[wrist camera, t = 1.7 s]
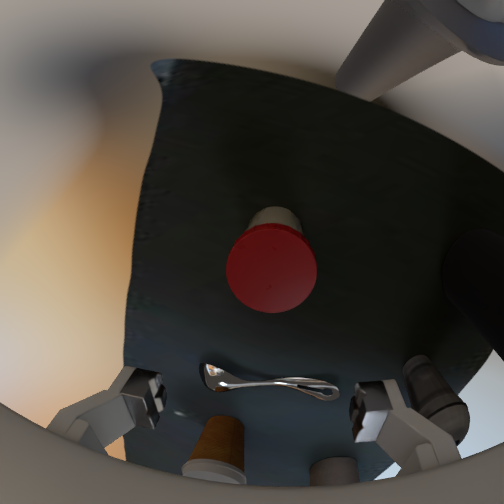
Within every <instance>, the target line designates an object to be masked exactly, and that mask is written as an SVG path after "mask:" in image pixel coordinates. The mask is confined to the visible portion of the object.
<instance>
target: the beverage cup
mask: <svg viewBox="0 0 504 504" xmlns="http://www.w3.org/2000/svg"><path fill="white" fill-rule="evenodd" d="M402 373H403V376H404V381H405V385H406V388H407V392H408V395H409V399H410V402H411V406H412V409H413V410H414V411H416V412H417V413H419V414H420V415H422V416H423V417H425V418H426V419H428V420H429V421H431V422H432V423H434V424H435V425H436V426H438V427H439V428H441V429H442V430H444V431H445V432H447V433H448V434H450V435H452V437H453V439H454V442H455V444H456V446H458V445H459V444H460V443H461V442H462V441H463V439H464V438H465V436H466V434H467V432H468V429H469V423H470V415H469V412H468V407H467V405H466V403H464V402H463V401H462V399H461V398H459V396H458V395H456V394H455V393H454V391H453V390H452V389H451V387H450V386H449V384H448V383H447V382H446V380H445V379H444V378H443V376H442V375H441V374H440V372H439V371H438V370H437V368H436V367H435V366H434V364H433V363H432V362H431V361H430V360H429V359H428V357H427V356H425V355H417V356H415V357H413V358H411V359H410V360H408V361H407V362H406V364H405V365H404V367H403V370H402Z"/></svg>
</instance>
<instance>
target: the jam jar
mask: <svg viewBox="0 0 504 504" xmlns="http://www.w3.org/2000/svg"><path fill="white" fill-rule="evenodd" d="M266 222H267V223H278V222H279V224H284V225H287V226H289V225H290V226H291V228H293V229H295V230H297V231H298V232H299V231H300V232H301V234H302V235H303V236H304V237H305V234H304V231H303V227H302V224H301V222H300V220H299V219H298V217H297V216H296V215H295V214H294V213H293V212H291V211H290V210H288V209H285V208H282V207H268V208H265V209H263V210H261V211H259V212H258V213H257V214H256V215H255V216H254V217H253V218H252V220H251V221H250V223H249V225H248V227H247V229H246V231H247V230H249V229H251V228H253V227H254V226H255V225H256V226H257V225H260V224H265V223H266Z"/></svg>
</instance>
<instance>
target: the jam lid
mask: <svg viewBox="0 0 504 504" xmlns="http://www.w3.org/2000/svg"><path fill="white" fill-rule="evenodd" d="M229 254H230V255H229V257H228V261H227V266H226V273H227V279H228V283H229V285H230V288H231V290H232V291H233V293H234V294H235V296H236V297H237V298H238V299H239V300H240V301H241V302H243V303H244V304H245V305H247V306H248V307H250V308H252V309H255V310H258V311H261V312H267V313H278V312H283V311H287V310H290V309H292V308H294V307H296V306H298V305H299V304H300V303H302V302H303V301H304V300H305V299H306V298H307V297H308V295H309V294H310V293H311V291H312V289H313V287H314V285H315V281H316V277H317V263H316V260H315V258H314V256H315V254H314V250H313V249H312V248H311V246H310V244H309V241H308V239H307V240H306V238H305V237H304V236H303V235H302V234H301V232H300V231H299V232H298V231H297V230H295V229H293V228H291V226H290V225H289V226H287V225H284V224H279V222H278V223H267V222H266V223H265V224H260V225H257V226H256V225H255V226H254V227H253V228H251V229H249V230H247V231H245V232H244V234H242V235H241V237H240V238H239V239H238V238H237V240H236V242H235V245H234V247H233V248H232V249H231V251H230V252H229Z"/></svg>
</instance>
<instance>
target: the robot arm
mask: <svg viewBox="0 0 504 504" xmlns="http://www.w3.org/2000/svg"><path fill="white" fill-rule="evenodd" d="M457 1H458V2H459V3H460V4H461V5H462V6H464V7H465V8H466V9H467V10H469V11H470V12H472V13H473V14H475V15H476V16H478V17H480V18H482V19H484V20H486V21H489V22H494V23H497V22H501V23H504V0H457ZM162 382H163V377H162V374H161V373H159V372H155V371H149V370H144V369H140V368H134V367H129V366H126V367H124V368H123V369H122V370H121V372H120V373H119V375H118V376H117V378H116V379H115V381H114V382H113V383H112V385H111V386H110V388H109V389H108V390H103V391H101V392H99V393H97V394H95V395H92V396H90V397H88V398H86V399H84V400H81V401H79V402H77V403H75V404H72V405H70V406H68V407H66V408H63V409H61V410H60V411H59V412H58V413H57V415H56V416H55V417H54V419H53V420H52V421H51V423H50V424H49V425H48V427H47V428H46V429H45V428H43V427H41V426H40V425H38V424H36V423H34V422H32V421H30V420H28V419H27V418H25V417H23V416H21V415H20V414H18V413H16V412H15V411H13V410H11V409H10V408H8V407H6V406H5V405H3V404H2V403H0V504H504V442H503V443H500V444H498V445H496V446H494V447H491V448H489V449H487V450H484V451H482V452H479V453H476V454H474V455H471V456H469V457H466V458H463V459H462V458H461V456H460V454H459V451H458V449H457V446H456V444H455V442H454V439H453V437H452V435H450V434H448V433H447V432H445V431H444V430H442V429H441V428H439V427H438V426H436V425H435V424H434V423H432V422H431V421H429V420H428V419H426V418H425V417H423V416H422V415H420V414H419V413H417V412H416V411H414V410H413V409H411V408H407V407H406V405H405V402H404V400H403V397H402V395H401V393H400V390H399V388H398V385H397V383H396V381H395V380H394V379H390V380H382V381H370V382H357V383H356V384H355V387H354V394H355V395H354V396H353V397H352V398H351V401H350V407H349V415H350V421H351V422H353V423H354V425H353V428H352V432H353V437H354V442H365V441H375V442H376V443H377V444H378V445H379V446H380V447H381V448H382V449H383V450H384V451H385V452H386V453H387V454H388V455H389V456H390V457H391V458H392V459H393V460H394V461H395V462H396V463H397V464H398V465H399V466H400V467H401V470H400V471H399V472H398V474H397V475H396V476H395V477H391V478H386V479H380V480H374V481H367V482H359V483H351V484H341V485H328V486H305V487H280V486H257V485H243V484H233V483H224V482H217V481H210V480H203V479H197V478H192V477H186V476H181V475H176V474H172V473H167V472H163V471H159V470H155V469H151V468H147V467H144V466H140V465H137V464H133V463H130V462H127V461H123V460H120V459H117V458H114V457H111V456H109V455H108V454H107V452H106V451H105V449H104V448H105V447H106V446H108V445H109V444H111V443H112V442H114V441H115V440H116V439H118V438H119V437H121V436H122V435H124V434H125V433H126V432H128V431H129V430H131V429H132V428H133V427H135V425H137V426H141V427H146V428H151V429H155V427H156V425H157V423H158V421H159V418H160V416H159V412H160V411H162V410H164V407H165V405H166V400H167V392H166V388H165V387H164V386H163V385H162Z"/></svg>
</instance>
